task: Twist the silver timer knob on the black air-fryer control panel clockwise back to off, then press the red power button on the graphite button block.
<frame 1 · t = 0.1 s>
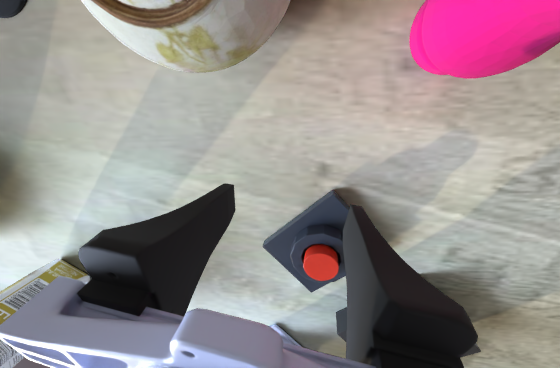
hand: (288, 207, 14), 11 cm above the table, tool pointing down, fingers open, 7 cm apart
power button: (320, 262, 23), point 3 cm above the table, slide at 0.2 cm
pepper mill: (452, 30, 17), on the table
button block: (321, 242, 27), on the table
juice carton: (74, 278, 39), on the table
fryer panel: (397, 318, 29), on the table
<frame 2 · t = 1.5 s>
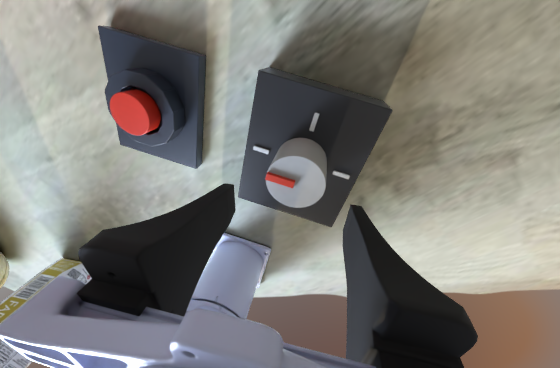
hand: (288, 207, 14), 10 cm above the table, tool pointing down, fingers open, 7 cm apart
power button: (136, 112, 19), point 3 cm above the table, slide at 0.2 cm
button block: (161, 104, 22), on the table
timer knob: (298, 172, 17), point 5 cm above the table, hinge at 90.0°
juice carton: (84, 271, 45), on the table
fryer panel: (304, 148, 21), on the table
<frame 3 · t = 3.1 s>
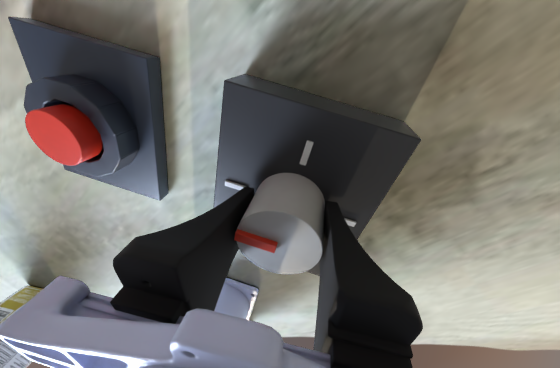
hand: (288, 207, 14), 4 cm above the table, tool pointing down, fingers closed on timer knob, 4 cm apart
power button: (66, 135, 14), point 3 cm above the table, slide at 0.2 cm
button block: (111, 120, 17), on the table
timer knob: (283, 223, 12), point 5 cm above the table, hinge at 90.0°, touching gripper
juice carton: (53, 298, 40), on the table
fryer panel: (296, 178, 16), on the table
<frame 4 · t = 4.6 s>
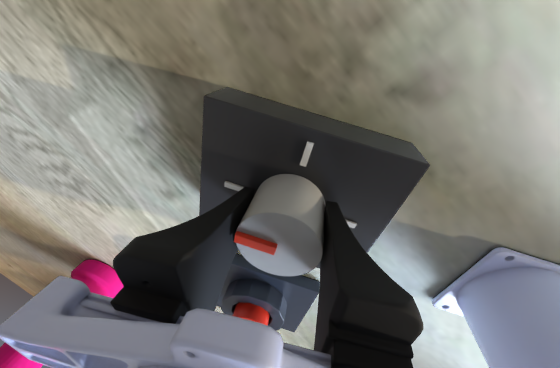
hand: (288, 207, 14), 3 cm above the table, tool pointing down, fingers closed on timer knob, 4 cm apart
power button: (250, 319, 22), point 3 cm above the table, slide at 0.2 cm
pepper mill: (105, 272, 31), on the table
button block: (259, 288, 25), on the table
timer knob: (283, 225, 12), point 5 cm above the table, hinge at 0.0°, touching gripper
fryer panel: (296, 179, 16), on the table
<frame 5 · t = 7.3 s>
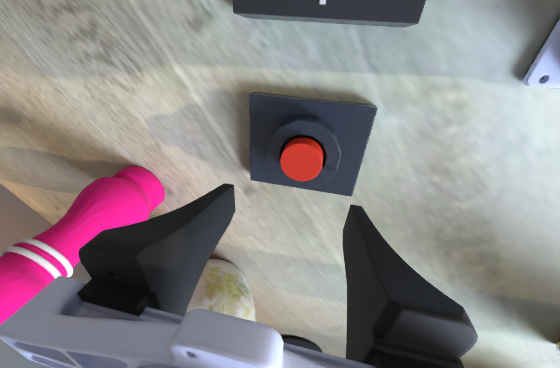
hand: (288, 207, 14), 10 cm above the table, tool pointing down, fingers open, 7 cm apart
power button: (301, 159, 19), point 3 cm above the table, slide at 0.2 cm
pepper mill: (145, 185, 30), on the table
button block: (305, 145, 22), on the table
wine glass: (297, 347, 46), on the table
sugar bowl: (223, 273, 37), on the table
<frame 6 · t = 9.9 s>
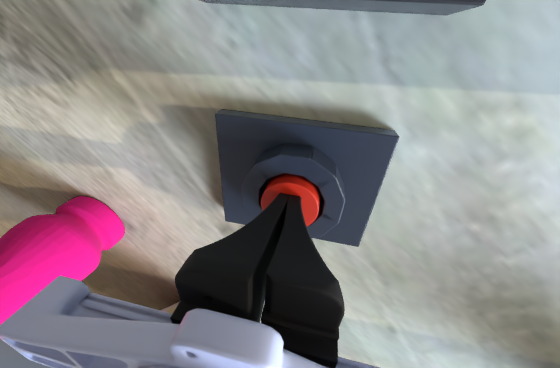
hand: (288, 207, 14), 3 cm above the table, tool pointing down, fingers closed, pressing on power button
power button: (291, 200, 14), point 3 cm above the table, slide at -0.6 cm, touching gripper
pepper mill: (100, 217, 24), on the table
button block: (296, 179, 16), on the table
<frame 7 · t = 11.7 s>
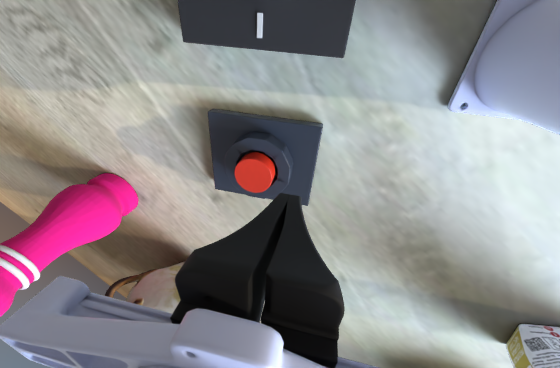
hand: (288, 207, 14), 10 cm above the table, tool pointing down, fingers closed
power button: (255, 172, 21), point 3 cm above the table, slide at 0.2 cm
pepper mill: (119, 191, 31), on the table
button block: (264, 157, 24), on the table
sugar bowl: (198, 275, 39), on the table
juice carton: (544, 335, 30), on the table
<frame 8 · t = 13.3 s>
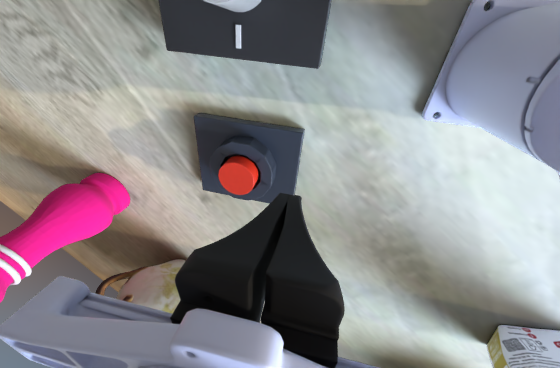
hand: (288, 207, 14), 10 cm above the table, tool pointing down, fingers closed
power button: (238, 175, 22), point 3 cm above the table, slide at 0.2 cm
pepper mill: (111, 190, 32), on the table
button block: (249, 160, 24), on the table
sugar bowl: (189, 273, 40), on the table
juice carton: (523, 337, 31), on the table
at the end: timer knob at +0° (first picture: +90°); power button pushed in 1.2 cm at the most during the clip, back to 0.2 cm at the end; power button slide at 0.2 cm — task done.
